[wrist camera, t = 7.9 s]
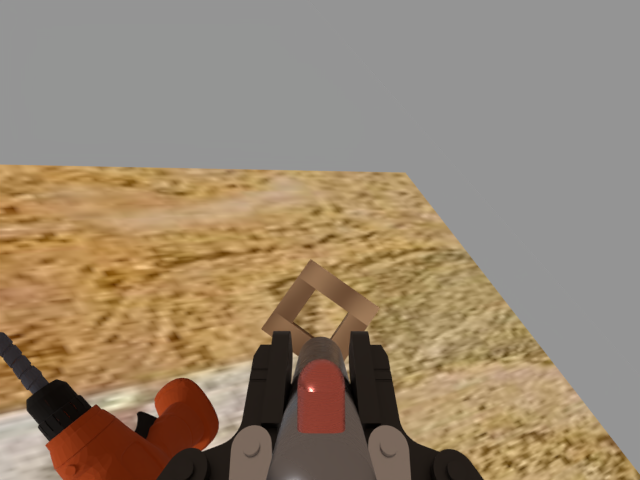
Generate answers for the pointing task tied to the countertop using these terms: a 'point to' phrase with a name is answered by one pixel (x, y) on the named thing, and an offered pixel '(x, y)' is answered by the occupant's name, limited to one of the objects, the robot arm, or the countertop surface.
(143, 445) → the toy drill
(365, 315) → the frame
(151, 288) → the countertop surface
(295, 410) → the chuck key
